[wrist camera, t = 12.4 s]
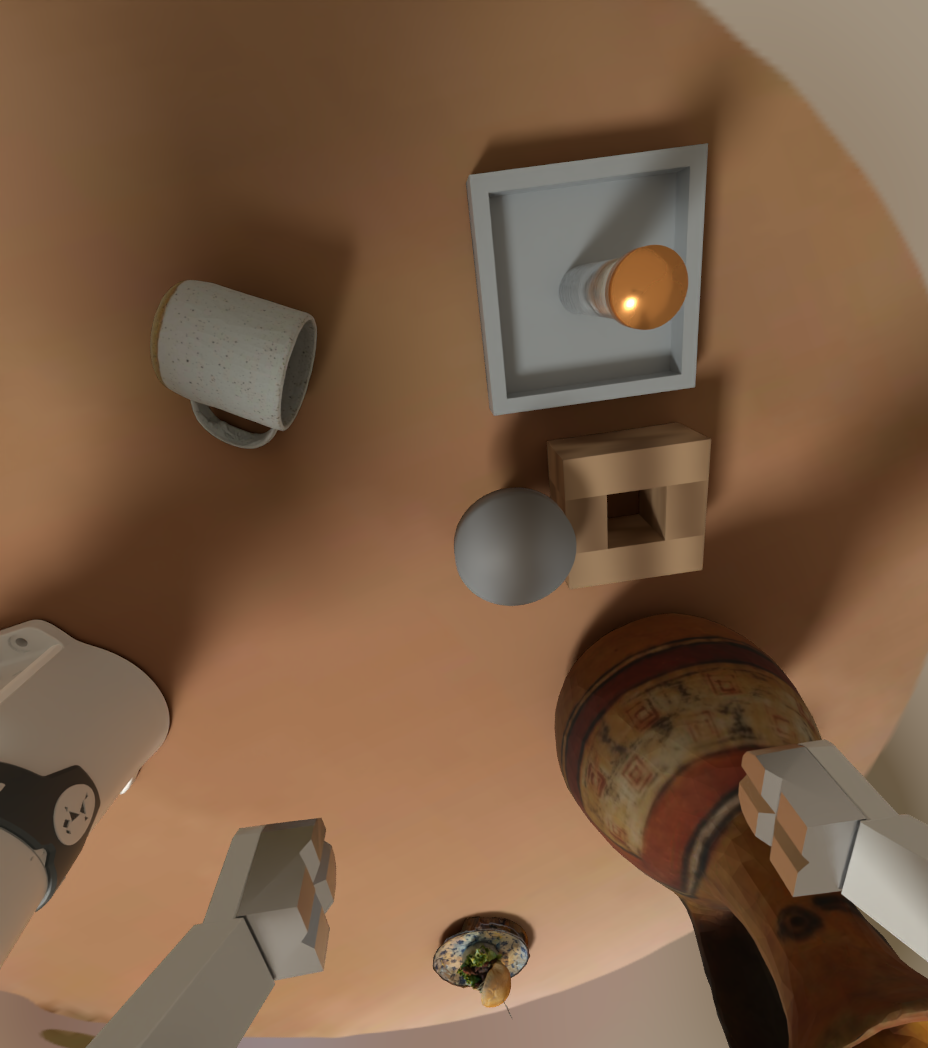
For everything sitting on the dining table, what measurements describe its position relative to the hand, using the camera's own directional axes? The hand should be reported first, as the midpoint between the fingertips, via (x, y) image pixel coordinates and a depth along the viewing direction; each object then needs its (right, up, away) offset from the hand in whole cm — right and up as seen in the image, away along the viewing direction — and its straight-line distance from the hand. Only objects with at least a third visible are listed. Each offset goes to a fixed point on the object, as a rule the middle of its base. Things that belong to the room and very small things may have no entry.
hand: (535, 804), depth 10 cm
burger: (+1, -46, +55) cm, 72 cm away
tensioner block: (+6, +7, +31) cm, 33 cm away
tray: (+7, +21, +25) cm, 34 cm away
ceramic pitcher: (+16, -10, +40) cm, 44 cm away
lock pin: (+6, +21, +25) cm, 33 cm away
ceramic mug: (-16, +16, +26) cm, 34 cm away
